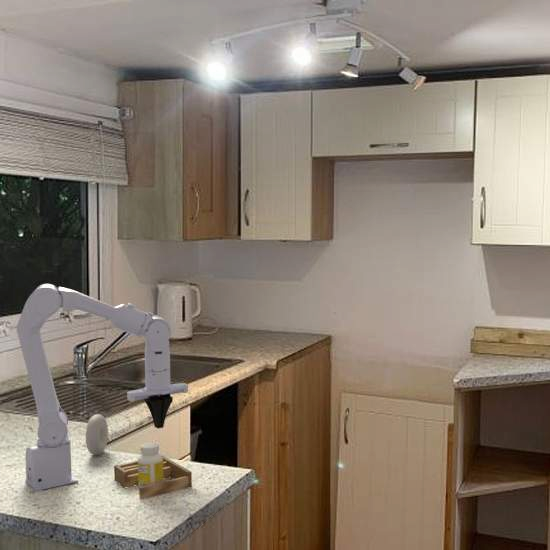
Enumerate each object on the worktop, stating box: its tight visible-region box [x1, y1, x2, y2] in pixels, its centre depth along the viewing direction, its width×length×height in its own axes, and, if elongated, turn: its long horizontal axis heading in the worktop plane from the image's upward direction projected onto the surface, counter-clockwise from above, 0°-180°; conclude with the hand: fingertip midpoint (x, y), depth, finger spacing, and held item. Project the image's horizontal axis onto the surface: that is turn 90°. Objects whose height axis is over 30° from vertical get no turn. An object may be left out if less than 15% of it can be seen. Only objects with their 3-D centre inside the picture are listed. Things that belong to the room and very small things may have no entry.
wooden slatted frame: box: [113, 454, 193, 500], centre depth 166 cm, size 12×14×3 cm
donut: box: [85, 413, 109, 456], centre depth 186 cm, size 10×4×10 cm, turn 175°
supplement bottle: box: [137, 442, 164, 488], centre depth 162 cm, size 5×5×10 cm
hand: (158, 427), depth 173 cm, fingers closed
